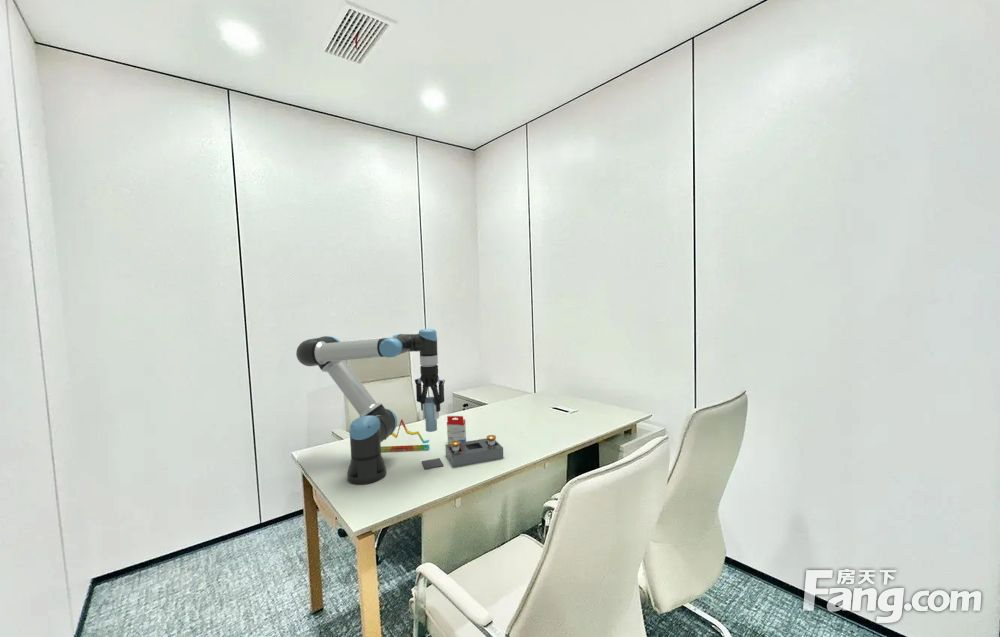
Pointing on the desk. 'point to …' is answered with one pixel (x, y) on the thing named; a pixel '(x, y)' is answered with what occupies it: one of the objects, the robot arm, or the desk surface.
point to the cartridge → (430, 414)
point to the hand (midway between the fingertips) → (431, 418)
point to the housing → (474, 452)
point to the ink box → (456, 429)
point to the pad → (432, 463)
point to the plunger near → (455, 446)
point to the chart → (406, 448)
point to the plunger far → (491, 440)
